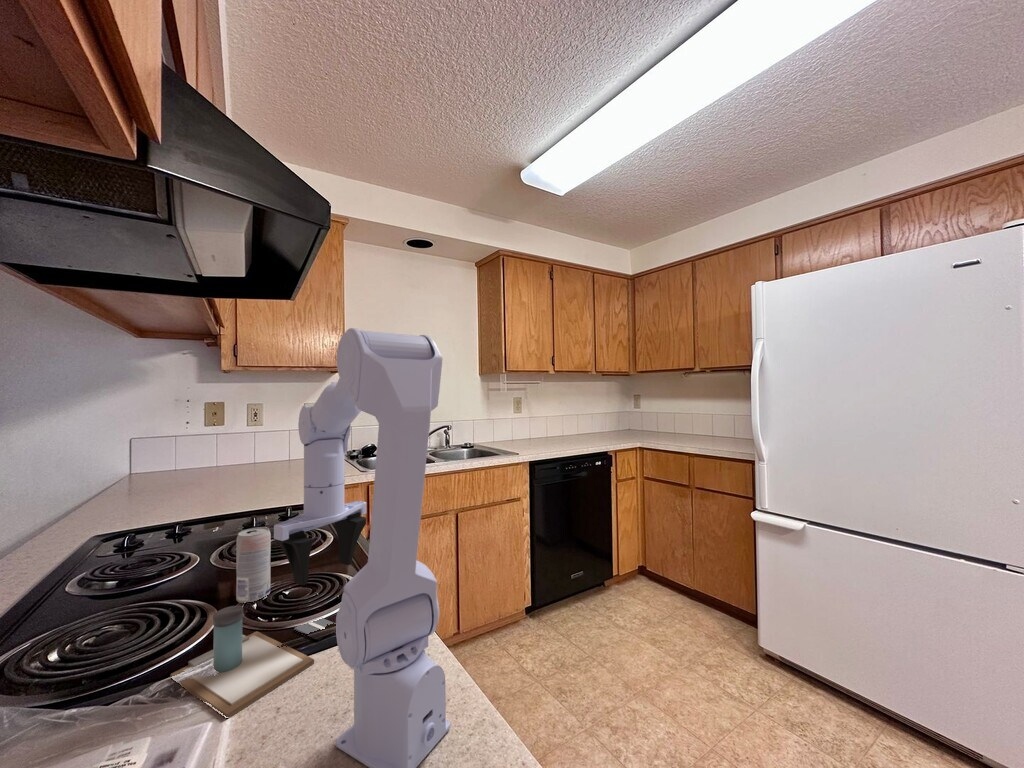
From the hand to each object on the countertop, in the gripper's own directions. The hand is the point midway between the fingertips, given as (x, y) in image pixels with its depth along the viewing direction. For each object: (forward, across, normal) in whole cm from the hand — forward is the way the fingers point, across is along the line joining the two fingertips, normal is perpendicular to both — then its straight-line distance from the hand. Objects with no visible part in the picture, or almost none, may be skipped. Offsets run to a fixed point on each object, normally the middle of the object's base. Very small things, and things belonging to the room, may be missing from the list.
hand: (324, 572), depth 62 cm
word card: (+10, -1, -3) cm, 10 cm away
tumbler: (+9, +11, -5) cm, 15 cm away
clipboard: (+10, +10, -3) cm, 14 cm away
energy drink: (+10, -2, -23) cm, 25 cm away
